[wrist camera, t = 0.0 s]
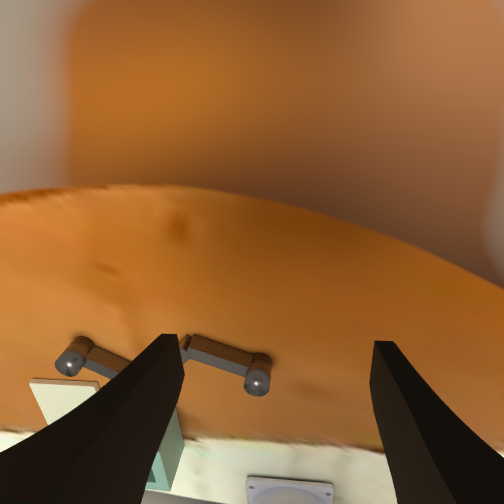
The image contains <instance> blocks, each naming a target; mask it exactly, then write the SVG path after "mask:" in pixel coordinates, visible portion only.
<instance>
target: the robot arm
mask: <svg viewBox="0 0 504 504" xmlns="http://www.w3.org/2000/svg"><path fill="white" fill-rule="evenodd" d="M184 375H185V373H184V368H183V363H182V358H181V353H180V348H179V343H178V338H177V334H161V335H160V336H158V337H157V338H156V339H155V340H154V341H153V342H152V343H151V344H150V345H149V346H148V347H147V348H146V349H145V350H144V351H143V352H141V353H140V354H139V355H138V356H137V357H136V358H135V359H134V360H133V361H132V362H131V363H130V364H129V365H127V366H126V367H125V368H124V369H123V370H122V371H121V372H120V373H119V374H117V375H116V376H115V377H114V378H113V379H111V380H110V381H109V382H108V383H107V384H106V385H104V386H103V387H102V388H101V389H100V390H98V391H97V392H96V393H95V394H93V395H92V396H91V397H89V398H88V399H87V400H85V401H84V402H83V403H81V404H80V405H78V406H77V407H76V408H74V409H73V410H71V411H70V412H68V413H67V414H65V415H64V416H62V417H61V418H59V419H58V420H56V421H54V422H53V423H51V424H50V425H48V426H47V427H45V428H43V429H42V430H40V431H39V432H37V433H35V434H33V435H32V436H30V437H28V438H26V439H25V440H23V441H21V442H19V443H17V444H16V445H14V446H12V447H10V448H8V449H6V450H4V451H2V452H0V504H141V501H142V497H143V494H144V491H145V487H146V484H147V481H148V477H149V474H150V471H151V468H152V465H153V462H154V460H155V457H156V454H157V452H158V449H159V447H160V444H161V442H162V439H163V437H164V435H165V432H166V430H167V427H168V425H169V422H170V420H171V417H172V415H173V412H174V409H175V407H176V404H177V402H178V399H179V395H180V391H181V388H182V384H183V379H184ZM369 384H370V391H371V397H372V404H373V410H374V414H375V418H376V422H377V425H378V429H379V433H380V436H381V440H382V444H383V447H384V451H385V454H386V458H387V462H388V465H389V469H390V472H391V476H392V480H393V484H394V488H395V493H396V498H397V503H398V504H504V458H503V457H502V456H501V455H500V454H498V453H497V452H496V451H495V450H494V449H492V448H491V447H490V446H489V445H488V444H487V443H485V442H484V441H483V440H482V439H481V438H480V437H479V436H478V435H476V434H475V433H474V432H473V431H472V430H471V429H470V428H469V427H468V426H467V425H466V424H465V423H464V422H463V421H462V420H461V419H460V418H459V417H458V416H457V415H456V414H455V413H454V412H453V411H452V410H451V409H450V408H449V407H448V406H447V405H446V404H445V403H444V402H443V401H442V400H441V399H440V398H439V396H438V395H437V394H436V393H435V392H434V391H433V390H432V389H431V387H430V386H429V385H428V384H427V383H426V382H425V381H424V379H423V378H422V377H421V376H420V375H419V373H418V372H417V371H416V370H415V368H414V367H413V366H412V365H411V363H410V362H409V361H408V360H407V358H406V357H405V356H404V354H403V353H402V352H401V351H400V349H399V348H398V347H397V345H396V344H395V343H394V342H393V341H374V349H373V358H372V366H371V374H370V383H369ZM246 488H247V497H248V504H333V495H334V488H333V486H332V485H331V484H328V483H316V482H305V481H293V480H281V479H270V478H258V477H248V478H247V479H246Z"/></svg>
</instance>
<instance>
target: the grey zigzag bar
mask: <svg viewBox="0 0 504 504" xmlns="http://www.w3.org/2000/svg"><path fill="white" fill-rule="evenodd" d="M179 348H180V353H181V358H182V363H183V364H184V363H185V362H186V361H188V360H189V359H193V360H195V361H198V362H201V363H204V364H207V365H210V366H213V367H216V368H219V369H222V370H225V371H228V372H231V373H234V374H237V375H240V376H243V377H245V381H244V389H245V391H246V392H247V393H248V394H250V395H253V396H264V395H266V394H267V393H268V392H269V389H270V379H271V368H272V360H271V359H270V357H269V356H267V355H266V354H263V353H255V354H250V353H247V352H244V351H241V350H239V349H236V348H233V347H230V346H227V345H224V344H221V343H218V342H215V341H212V340H209V339H206V338H203V337H200V336H197V335H193V337H192V338H190V337H189V336H188V335H187V336H186V337H185V338H184V339H182V340H181V341H180V342H179ZM130 363H131V362H130V361H128V360H126V359H123V358H121V357H119V356H117V355H115V354H113V353H110V352H108V351H106V350H104V349H102V348H100V347H97V346H95V345H94V343H93V342H92V341H91V340H90V339H88V338H86V337H83V336H79V337H76V338H75V339H74V340H73V341H72V343H71V344H70V345H69V346H68V347H67V348H66V350H65V351H64V352H63V353H62V354H61V355H60V357H59V358H58V359H57V360H56V362H55V367H56V369H57V370H58V371H59V372H60V373H61V374H63V375H65V376H69V377H73V376H76V375H77V374H78V373H79V371H80V370H81V369H82V367H85V368H87V369H89V370H92V371H94V372H96V373H98V374H101V375H103V376H105V377H107V378H109V379H113V378H114V377H115V376H116V375H117V374H119V373H120V372H121V371H122V370H123V369H124V368H125V367H126V366H127V365H129V364H130Z"/></svg>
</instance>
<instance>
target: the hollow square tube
mask: <svg viewBox="0 0 504 504" xmlns="http://www.w3.org/2000/svg"><path fill="white" fill-rule="evenodd" d="M183 448H184V442H183V437H182V433H181V428H180V424H179V419H178V415H177V410H176V407H175V409H174V412H173V415H172V417H171V420H170V422H169V425H168V427H167V430H166V432H165V435H164V437H163V439H162V442H161V444H160V447H159V449H158V452H157V454H156V457H155V460H154V462H153V465H152V468H151V471H150V474H149V477H148V481H147V484H146V487H145V489H152V490H163V491H170V490H171V487H172V484H173V480H174V477H175V474H176V471H177V467H178V464H179V461H180V458H181V455H182V451H183Z"/></svg>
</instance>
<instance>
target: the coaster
mask: <svg viewBox="0 0 504 504" xmlns="http://www.w3.org/2000/svg"><path fill="white" fill-rule="evenodd" d="M29 385H30V387H31V389H32V391H33V393H34V395H35V397H36V399H37V402H38V404H39V406H40V408H41V410H42V412H43V414H44V417H45V419H46V421H47V423H48V425H50V424H51V423H53V422H54V421H56V420H58V419H59V418H61V417H62V416H64V415H65V414H67V413H68V412H70V411H71V410H73V409H74V408H76V407H77V406H78V405H80V404H81V403H83V402H84V401H85V400H87V399H88V398H89V397H91V396H92V395H93V394H95V393H96V392H97V391H98V390H100V389H99V386H98V383H97V382H87V381H68V380H49V379H32V380H31V381H30V382H29Z"/></svg>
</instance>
